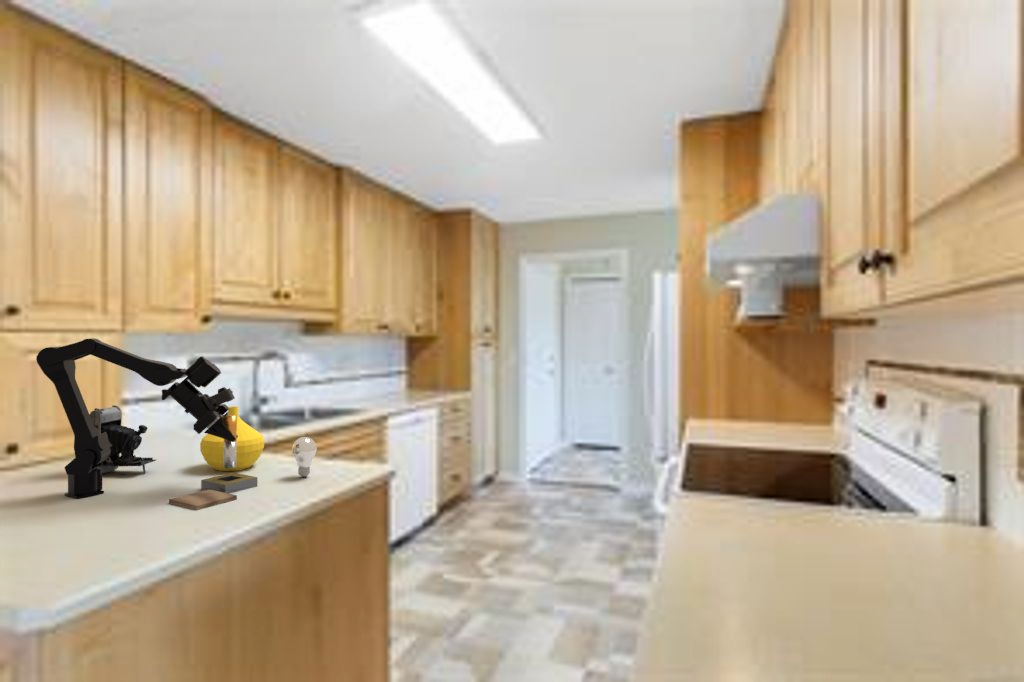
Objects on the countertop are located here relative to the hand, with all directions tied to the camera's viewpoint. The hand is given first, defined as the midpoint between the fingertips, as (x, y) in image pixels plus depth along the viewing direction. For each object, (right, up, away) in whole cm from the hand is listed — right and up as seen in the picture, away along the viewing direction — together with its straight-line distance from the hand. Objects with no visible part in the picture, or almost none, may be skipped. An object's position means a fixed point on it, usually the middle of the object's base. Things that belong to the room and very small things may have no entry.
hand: (235, 439), depth 166 cm
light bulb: (+14, -14, +13) cm, 24 cm away
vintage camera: (-40, -13, +13) cm, 44 cm away
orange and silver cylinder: (-1, -8, 0) cm, 8 cm away
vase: (-12, -13, +23) cm, 29 cm away
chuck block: (-2, -13, 0) cm, 13 cm away
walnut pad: (-2, -13, -14) cm, 19 cm away
